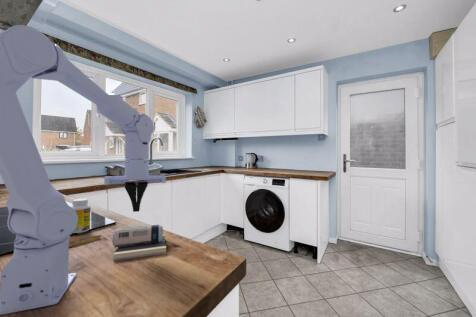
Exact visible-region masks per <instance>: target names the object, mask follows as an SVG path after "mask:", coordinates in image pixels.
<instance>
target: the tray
mask: <svg viewBox="0 0 476 317" xmlns="http://www.w3.org/2000/svg"><path fill="white" fill-rule="evenodd" d="M165 237H166V235H165V234H164V233H163V241H161V242H159V243H150V244H142V245H133V246H125V247H117V249H116V251H115V252H113V256H112V259H113V262H114V261H123V260H129V259H137V258H143V257H151V256H159V255H164V254H167V246H166V239H165Z"/></svg>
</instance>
